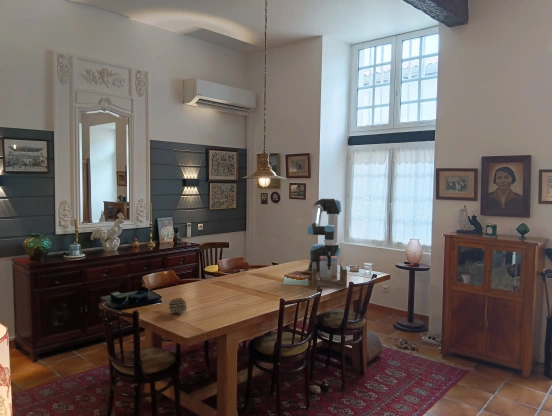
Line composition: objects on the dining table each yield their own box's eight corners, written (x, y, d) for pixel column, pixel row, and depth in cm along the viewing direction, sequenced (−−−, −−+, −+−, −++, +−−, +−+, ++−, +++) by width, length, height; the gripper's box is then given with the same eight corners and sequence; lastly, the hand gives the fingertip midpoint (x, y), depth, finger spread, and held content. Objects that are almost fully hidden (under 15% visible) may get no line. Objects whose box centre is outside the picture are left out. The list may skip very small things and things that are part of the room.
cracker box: (336, 281, 349) (337, 255, 347) (337, 283, 343) (337, 257, 341) (319, 280, 350) (320, 255, 348) (319, 282, 344) (320, 256, 342)
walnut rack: (311, 278, 357) (312, 261, 356) (343, 279, 355) (343, 262, 354) (312, 286, 331) (312, 268, 330) (346, 287, 330) (347, 269, 328)
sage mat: (284, 277, 359) (284, 276, 359) (308, 278, 358) (308, 277, 358) (282, 284, 336) (282, 284, 335) (308, 285, 334) (308, 284, 334)
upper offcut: (320, 280, 343) (320, 277, 343) (336, 281, 342) (336, 277, 342) (321, 282, 337) (321, 279, 337) (336, 282, 336) (336, 279, 336)
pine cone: (191, 314, 263) (191, 298, 262) (178, 317, 256) (178, 301, 255) (170, 306, 278) (169, 291, 277) (157, 310, 270) (157, 294, 269)
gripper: (323, 242, 355) (323, 269, 357) (325, 246, 333) (324, 275, 335) (332, 242, 355) (332, 269, 356) (334, 246, 333) (334, 275, 334)
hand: (328, 272), depth 346 cm, fingers open, 9 cm apart
